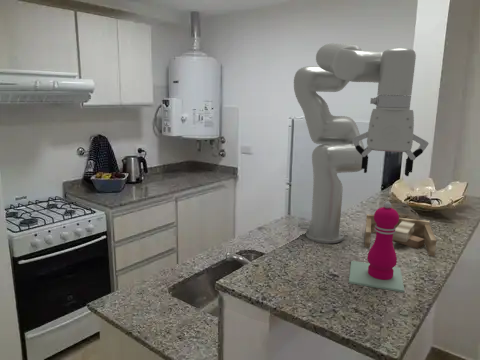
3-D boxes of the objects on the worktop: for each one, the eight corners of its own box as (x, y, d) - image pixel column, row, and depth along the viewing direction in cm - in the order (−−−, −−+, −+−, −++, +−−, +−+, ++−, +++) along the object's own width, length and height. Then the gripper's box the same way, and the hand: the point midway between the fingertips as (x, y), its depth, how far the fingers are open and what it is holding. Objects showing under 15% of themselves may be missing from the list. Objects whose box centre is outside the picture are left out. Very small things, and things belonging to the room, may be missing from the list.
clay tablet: (381, 208, 160) (379, 221, 142) (383, 197, 159) (381, 209, 141) (417, 213, 155) (419, 227, 137) (419, 202, 154) (421, 215, 136)
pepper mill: (360, 274, 98) (367, 201, 93) (373, 265, 103) (380, 196, 98) (387, 283, 93) (396, 207, 88) (399, 274, 98) (408, 202, 93)
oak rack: (364, 246, 117) (366, 228, 116) (365, 230, 132) (366, 214, 131) (434, 256, 111) (437, 237, 110) (426, 237, 126) (429, 220, 124)
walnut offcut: (382, 239, 125) (383, 230, 125) (389, 236, 128) (390, 228, 127) (417, 250, 116) (418, 241, 115) (423, 247, 118) (424, 239, 118)
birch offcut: (401, 229, 126) (402, 220, 126) (414, 231, 124) (415, 223, 123) (392, 239, 117) (393, 230, 116) (405, 242, 115) (406, 233, 114)
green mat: (348, 283, 94) (348, 281, 94) (351, 262, 106) (351, 260, 106) (404, 292, 90) (404, 290, 90) (400, 269, 102) (400, 267, 102)
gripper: (354, 102, 87) (348, 173, 91) (435, 104, 82) (425, 179, 86) (355, 102, 94) (350, 168, 98) (430, 104, 89) (421, 173, 93)
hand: (385, 173), depth 92 cm, fingers open, 9 cm apart
